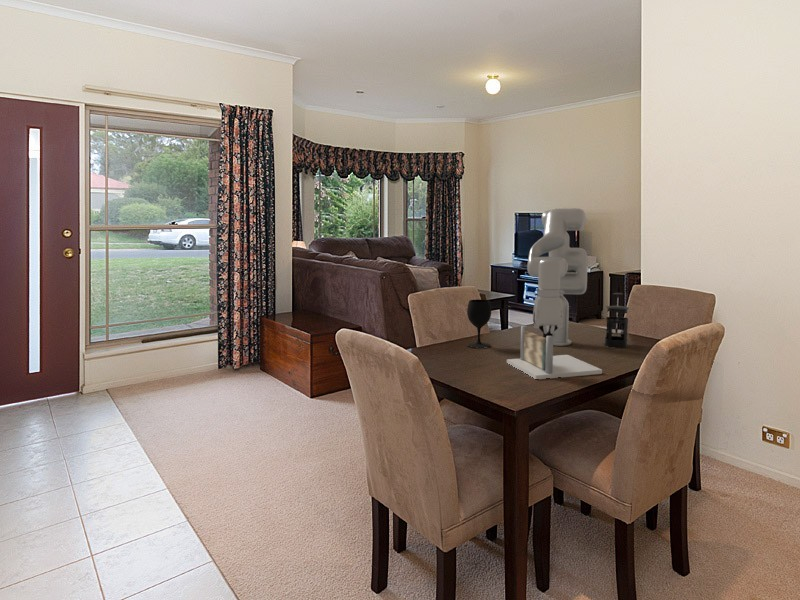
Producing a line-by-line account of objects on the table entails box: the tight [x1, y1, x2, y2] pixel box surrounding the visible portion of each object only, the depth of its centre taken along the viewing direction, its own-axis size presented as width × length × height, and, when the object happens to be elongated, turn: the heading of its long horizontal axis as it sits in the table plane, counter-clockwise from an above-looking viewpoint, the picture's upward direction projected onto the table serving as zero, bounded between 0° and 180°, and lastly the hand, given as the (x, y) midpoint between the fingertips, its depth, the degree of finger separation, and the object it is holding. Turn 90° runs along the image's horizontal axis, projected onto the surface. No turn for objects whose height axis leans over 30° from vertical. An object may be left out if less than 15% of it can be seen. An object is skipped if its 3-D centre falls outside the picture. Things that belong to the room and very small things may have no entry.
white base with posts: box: [506, 325, 603, 380], centre depth 203 cm, size 23×26×14 cm
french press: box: [603, 292, 630, 349], centre depth 238 cm, size 12×9×23 cm
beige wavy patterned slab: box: [524, 330, 546, 370], centre depth 202 cm, size 16×2×11 cm, turn 14°
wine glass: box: [466, 299, 492, 349], centre depth 240 cm, size 10×10×20 cm
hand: (547, 343), depth 199 cm, fingers closed
